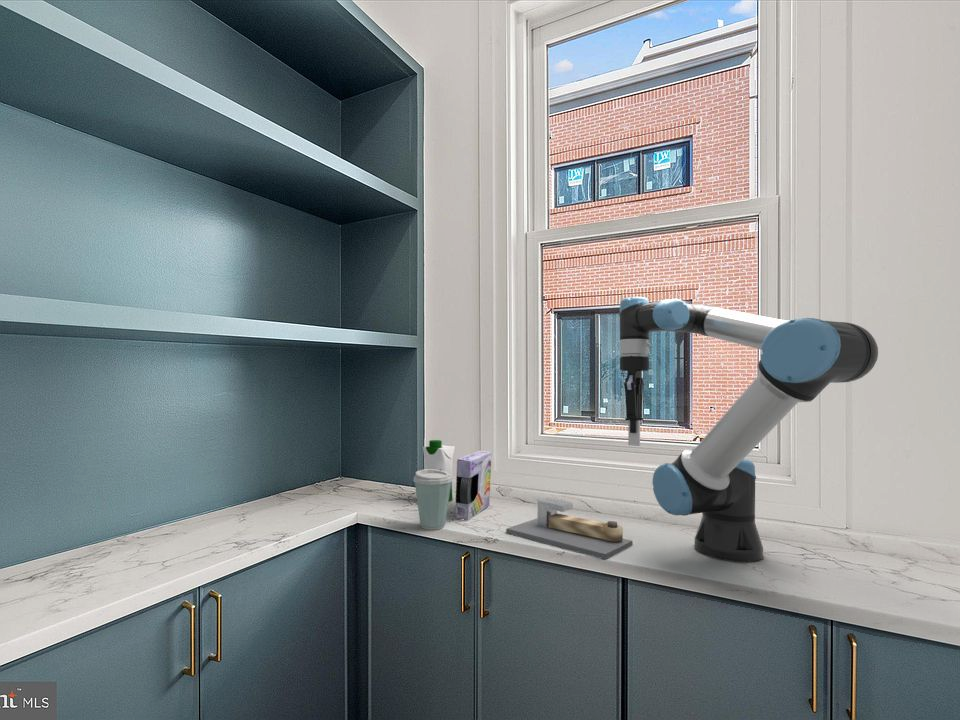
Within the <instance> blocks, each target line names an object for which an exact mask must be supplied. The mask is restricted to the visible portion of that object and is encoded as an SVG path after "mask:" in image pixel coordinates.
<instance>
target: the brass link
mask: <svg viewBox="0 0 960 720" xmlns="http://www.w3.org/2000/svg"><path fill="white" fill-rule="evenodd" d="M549 528H554V529H558V530H563V531H567V532H572V533H577V534H581V535H586V536H591V537H595V538H600V539H604V540H606V541H612V542H619V541H622V540H623V539H624V538H623V535H624V533H623V529H624V527H623V526H622V525H620V524H618V522H617V521H613V520H610V521H607V522H603V521H598V520H594V519H593V520H592V519H588V518H582V517H578V516H573V515H568V514H563V513H562V514H561V513H558V512H557V513H556V514H553V515H551V516H549Z"/></svg>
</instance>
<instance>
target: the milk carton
mask: <svg viewBox="0 0 960 720" xmlns="http://www.w3.org/2000/svg"><path fill="white" fill-rule="evenodd" d="M455 448H456V446H453V445H451V446H450V445H443V443H442V440H439V439H438V440H437V439H431V440H429V443H428V445H425V446H422V450H423V456H424V459H423V460H424V462H423V463H424V465H423V466H424V469H436V470H441V471H445V472H448V473H449V475H450V476H451V477H452V478H453V458H454V452H455ZM424 469H423V470H424ZM450 502H453V480H452V481H451V487H450V494H449V501H448V503H450Z"/></svg>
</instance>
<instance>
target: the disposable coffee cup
mask: <svg viewBox="0 0 960 720" xmlns="http://www.w3.org/2000/svg"><path fill="white" fill-rule="evenodd" d="M412 481H413V482H414V487H415V493H416V494H415V495H416V501H417V502H416V503H417V508H418V509H417V510H418V517H419V522H420V523H419V524H420V526H421V528H422V529H424V530H428V531H436V530H441V529H443V528H444V527H445V525H446V522H447V515H448V507H449V506H448V505H449V502H448V501H449V494H450V487H451V481H452V482H453V476H452V477H451V476H450V475H449V473H448V472H445V471H441V470H436V469H419V470H417V471H415V475H414V476H413V480H412ZM442 527H443V528H442Z"/></svg>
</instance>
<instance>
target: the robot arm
mask: <svg viewBox="0 0 960 720" xmlns="http://www.w3.org/2000/svg"><path fill="white" fill-rule="evenodd" d="M619 304H620V305H619V313H618V316H619V355H620V358H619V370H620V371H622V372H627V373H626V377H625V379H624V380H625V381H624V382H623V386H624V395H625V396H624V398H625V399H624V400H625V414H626V415H625V418H624V420H625V421H628V427H627V428H628V429H627V430H628V434H627V435H628V437H627V438H628V442H627V443H628V446H635V447H640V446H641V421H644V418H643V400H644V399H643V396H644V385H645V383H644V377H642V372H648V371H649V369H650V358H649V357H648V355H650V348H651V346H652V344H651V343H650V342H649V341H650V333H653V332H654V333H655V332H671V333H672V332H673V333H674V332H675V333H688V334H696V335H700V336H704V337H710V338H715V339H718V340H722V341H726V342H729V343H734V344H737V345H741V346H745V347H749V348H754V349H757V350H760V351H762V353H760V360H758V362H757V365H756V366H757V367H756V368H757V372H758V375H757V376H756V377H755V379H754V380H753V381H752V382H751V383H750V384H749V385H748V387H746V389H745V390H744V391H743V392H742V394H741V395H740V396H739V397H738V398H737V400H736V401H735V402H734V403H732V405H731V406H730V407H729V408H728V409H727V411H726V412H725V413H724V415H722V417H721V418H720V419H718V421H717V423H716V424H715V425H714V426H713V427H712V428H711V429H710V431H709V432H708V433H707V434H706V435H705V437H703V439H702V440H701V441H700V442H698V445H696V446H695V447H687V448H686V449H684V450H683V451H682V452H680V453H681V454H679V455H678V456H677V458H676V459H675V460H674V461H673V462H672V463H669V462H665V463H663V464H660V465H659V466H657V468H656V469H654V470H655V471H653V475H652V480H651V481H652V483H651V484H652V491H653V494H654V497H655V499H656V501H657V502H658V505H659V506H660V507H661V508H662V510H663V511H665V512H666V513H668V514H670V515H673V516H684V517H686V516H689V515H696V514H697V515H698V514H702V516H701V520H700V522H699V525H698V528H697V530H696V533H695V536H694V549H695V550H696V551H697V552H699V553H700V554H702V555H704V556H707V557H710V558H714V559H718V560H723V561H729V562H738V563H739V562H741V563H751V562H757V561H760V560H762V559H764V546H763V543H762V539H761V537H760V534H759V531H758V528H757V526H756V479H757V475H756V467H755V463H754V462H753V461H751V460H749V459H745V458H746V457H747V456H748V455H749V454H750V453H752V451H753V450H754V449H755V448H756V447H757V446H758V445H759V444H760V443H761V441H762V440H763V439H765V437H766V436H767V435H768V434H769V433H770V432H771V431H772V430H773V429H774V428H775V427H776V426H777V425H778V424H779V423H780V422H781V421H782V420H783V419H784V417H786V416H787V414H788V413H789V412H791V410H792V409H794V408H795V406H796V405H797V404H798V403H810V402H812V401H813V400H814V399H815V398H816V397H817V396H819V394H821V392H822V391H824V389H826V387H828V385H830V384H833V383H840V384H841V383H850V382H851V383H852V382H854V381H857V380H860V379H862V378H864V377H865V376H866V375H867V374H868V373H870V372H871V371H872V370H873V368H874V367H875V365H876V363H877V362H878V358H879V347H878V344H877V341H876V338H874V336H873V335H872V334H871V333H870V332H869V331H868V330H867V329H865V328H864V327H862V326H860V325H857V324H856V323H855V324H854V323H851V322H845V321H833V320H823V319H819V318H816V317H815V318H814V317H804V318H803V317H802V318H792V319H789V320H785V319H779V318H774V317H770V316H769V317H768V316H763V315H758V314H753V313H747V312H743V311H737V310H731V309H727V308H721V307H717V306H714V305H710V304H709V305H708V304H697V303H687V302H685V301H683V300H682V299H679V298H671V299H670V298H666V299H661V300H658V301H653V302H650V300H649V299H648V298H647V297H645V296H644V297H643V296H631V297H629V296H628V297H624V298H623V299H621V300H620V302H619Z"/></svg>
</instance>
